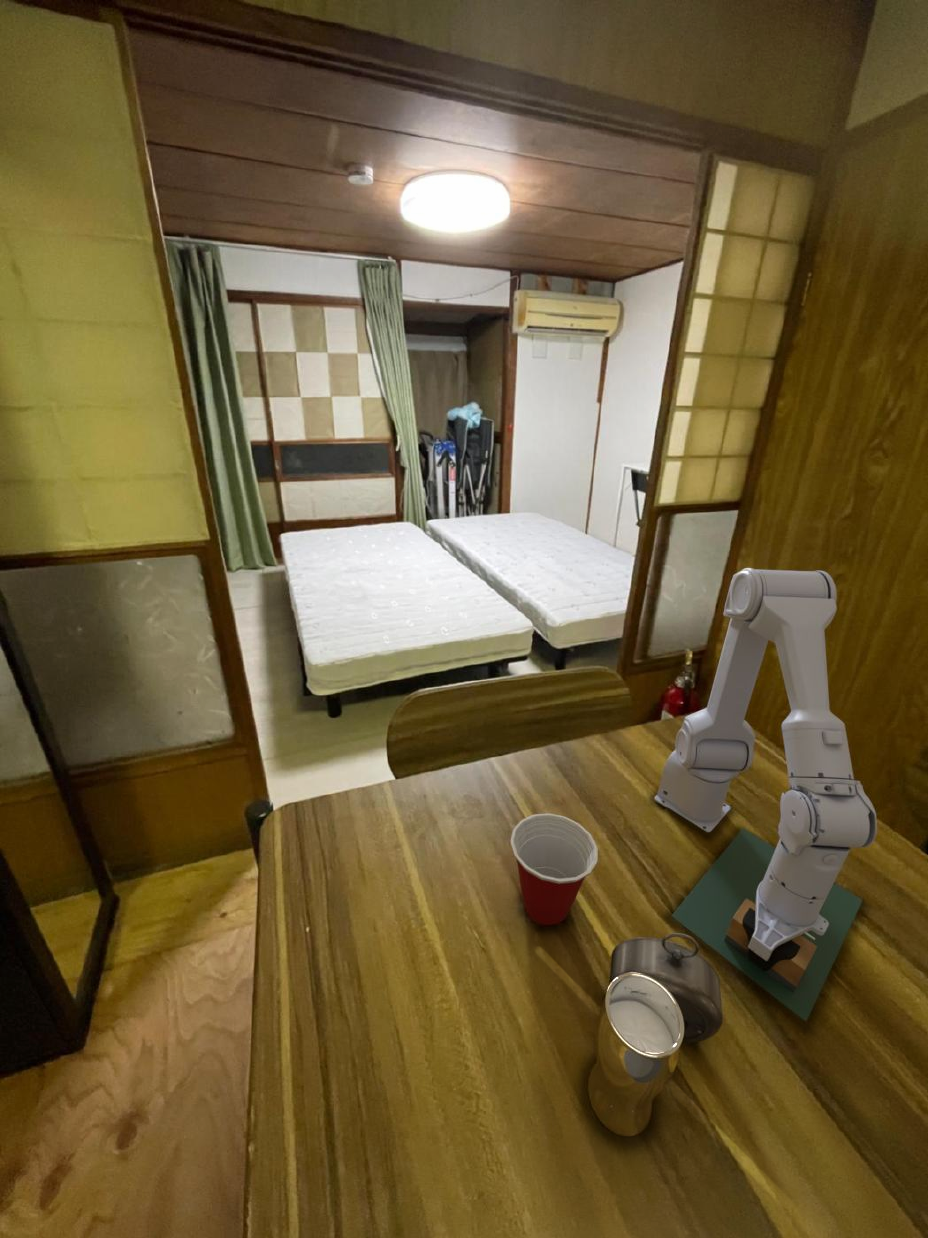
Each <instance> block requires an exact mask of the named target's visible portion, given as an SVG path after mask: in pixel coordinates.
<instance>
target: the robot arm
mask: <svg viewBox="0 0 928 1238" xmlns="http://www.w3.org/2000/svg"><path fill="white" fill-rule="evenodd" d="M837 593H838V592H837V586H836V584H835V582H834V579H833V578H832V576H831V574H829V573H828V572H827V571H824V570H820V569H819V570H812V571H810V570H806V571H805V570H785V569H784V570H782V569H756V568H752V567H745V568H742V569H741V570H739V571H738V572H736V573H734V574H733V575H732V579H731V580H730V584H729V588H728V592H727V596H726V600H725V604H724V610H723V613H722V615H723V617H725V618H729V619H730V620H729V623H728V626H727V631H726V633H725V634H726V635H725V638H724V642H723V645H722V649H721V652H720V657H719V661H718V665H717V669H716V672H715V676H714V680H713V683H712V686H711V691H710V695H709V699H708V702H707V705H706V707H705V708H702V709H700V710H698V711H695V712H694V713H691V714H689V715H686V716H685V717H684V721H682V725H681V726H680V727H681V728H680V729H679V730H678V731H677V733H676V735H675V743H674V744H675V745H674V746H675V748H674V750H673V751H672V752H671V753H670V755H669V756H668V758H667V760H666V762H665V764H664V766H663V769H662V774H661V777H660V782H659V784H658V790H657V793H656V795H655V796H654V798H653V799H654V801H655V802H656V803H658V804H660V805H661V806H663V807H664V808H666V809H667V808H669V809H670V810H671V811H673V812H675V813H676V814H678V815H679V816H681V817H683V818H684V819H686V820H688V821H689V822H691V824H694V825H695V826H696V827H698V828H700V829H701V830H703V831H705V832H706V833H711V832H712V831H713V829H715V827H716V826H717V825H718V824H719V823H720V822H721V820H722V819H723V818H724V817H725V816H726V815H727V814H728V813H729V811H731V808H732V807H731V806H730V805H728V804H727V803H725V801H726V798H727V795H728V792H729V789H730V786H731V784H732V783H731V782H732V780H733V778H738V777H739V773H740V772H747V771H748V770H749V769H750V767H751V766H752V764H753V762H754V758H755V749H754V748H755V747H754V746H755V741H756V734H755V732H754V730H753V728H752V727H751V724H749V722H748V721H747V720H745V718H746V715H747V711H748V709H749V704H750V701H751V698H752V695H753V692H754V689H755V685H756V681H757V679H758V676H759V672H760V669H761V666H762V662H763V659H764V656H765V653H766V649H767V647H768V643H769V641H770V642H772V643H773V644H774V645H775V649H776V653H777V657H778V661H779V665H780V670H781V673H782V678H783V682H784V686H785V691H786V696H787V699H788V703H789V708H790V713H789V714H788V715H787V717H785V719H784V720H783V721H782V723H781V732H782V740H783V747H784V753H785V754H784V755H785V761H786V769H787V777H788V785H789V789H790V790H788V791H786V792H782V793H781V795H780V800H779V801H780V803H779V810H780V821H779V823H778V827H777V829H778V831H777V835H778V836H779V839H778V842H777V845H776V847H775V848H776V849H775V852H774V854H773V857H772V859H771V861H770V864H769V866H768V869H767V871H766V874H765V876H764V879H763V881H762V882H761V883H760V884H759V886H758V888H757V891H756V911H754V910H753V909H751V908H749V909H748V911H747V912H746V914H745V915H744V917H743V921H742V926H743V928H744V929H745V931H746V934H747V937H748V958H749V960H750V961H752V962H753V963H754V964H756V965H757V966H758V967H759V968H761V969H762V970H763V971H768V970H769V969H771V968H772V967H773V966H774V965H775V964H776V963H777V962H779V961H781V960H791V959H793V958H794V957H795V956H796V955H797V953H798V951H799V949H800V947H801V946H799V945H798V944H796V943H795V942H794V941H792V940H791V939H793V938H795V937H797V936H799V935H801V934H803V933H805V932H807V931H813V932H815V933H816V934H818V935H824V933H825V931H826V929H827V927H828V925H829V923H828V921H827V920H826V919H825V918H823V917H822V916H821V915H820V914H819V912H820V910H821V908H822V906H823V904H824V902H825V900H826V898H827V896H828V894H829V892H830V890H831V888H832V886H833V884H834V883H835V882H836V880H837V878H838V876H839V874H840V872H841V870H842V868H843V866H844V864H845V862H846V860H847V857H848V856H849V854H850V851H851V849H852V848H853V849H854V848H855V849H858V848H867V847H870V846H871V845H872V844H873V843H874V842H875V840H876V836H877V833H878V821H877V812H876V810H875V807H874V805H873V803H872V801H871V800H870V798H869V797H868V796H867V794H866V793H865V791H864V788H863V787H864V786H863V784H862V783H861V781H860V780H855V776H854V770H853V766H852V760H851V754H850V747H849V742H848V736H847V730H846V725H845V723H844V721H842V720H841V719H840V718H839V717H838V716H837V715H835V714H834V713H833V712H832V711H831V709H830V697H829V695H830V694H829V681H828V680H829V679H828V666H827V665H828V664H827V663H828V662H827V650H826V649H827V647H826V634H825V633H826V632H825V630H826V628H828V626H829V625H830V624H831V623H832V621H833V619H834V617H835V616H836V613H837V609H838V606H837V604H836V602H837Z"/></svg>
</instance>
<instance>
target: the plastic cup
mask: <svg viewBox="0 0 928 1238" xmlns="http://www.w3.org/2000/svg"><path fill="white" fill-rule="evenodd" d="M510 846H511V849H512V852H513V855H514V859H515V860H516V865H517V872H518V878H519V885H520V891H521V895H522V902H523V907H524V909H525V911H526V912H525V913H526V914H527V916H528V917H529V918H530V920H532V922H534V923H535V924H537V925H539V926H543V927H546V926H552V925H558V924H560V923H561V922H563V921H564V920H565V919H566V918H567V916H568V914H569V913H570V909H571V907H572V905H573V904H574V903H575V900H576V898H577V896H578V894H579V891H580V889H581V887H582V885H583V883H584V881H585V878H586V877H587V876H589V875H590V874H591V872H592V871H593V869H594V868H595V866H596V865H597V863H598V860H599V859H598V856H599V855H598V852H599V849H598V846H597V844H596V842H595V840H594V838H593V835H592V834H591V833H590V832H589V831H588V830H587V829H585V827H583V826H582V824H580V823H579V822H576V821H575V820H573V819H571V818H569V817H567V816H564V815H560V814H555V813H551V812H549V813H548V812H546V813H535V814H532V815H529V816H527V817H525V818H522V819H521V820H520V821H519V822H518V823H517V824H516V825H515V826H514V827H513V828H512V832H511V838H510Z"/></svg>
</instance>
